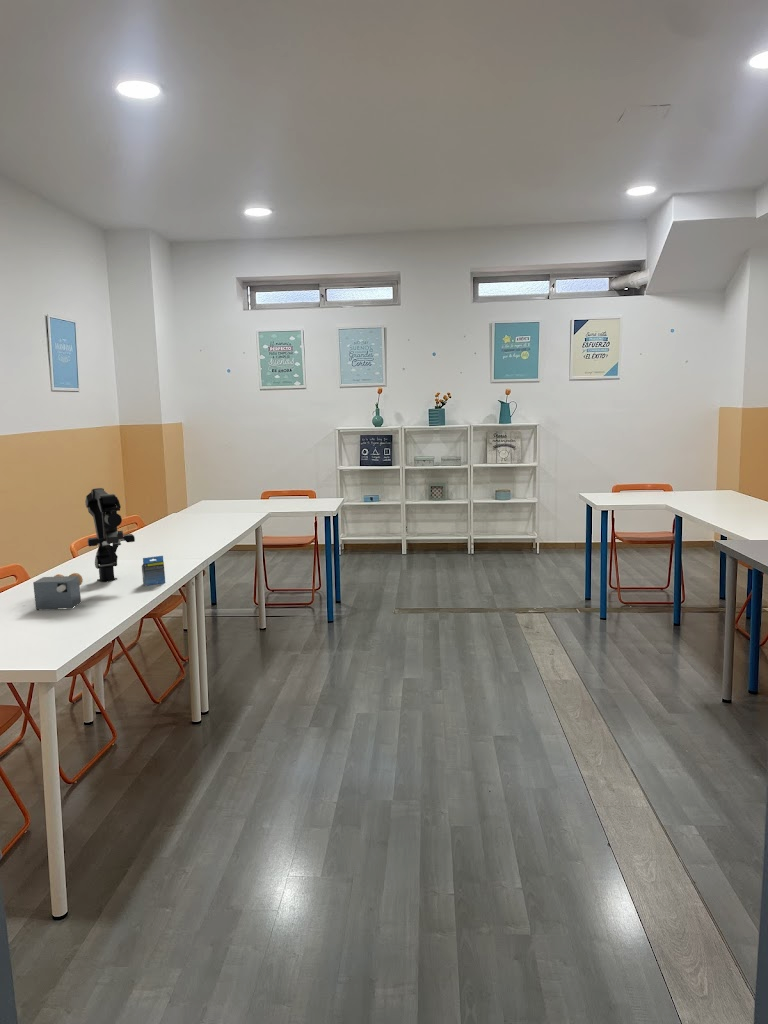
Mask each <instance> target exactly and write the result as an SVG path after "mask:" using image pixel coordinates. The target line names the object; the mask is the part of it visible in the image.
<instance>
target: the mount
mask: <svg viewBox="0 0 768 1024" xmlns="http://www.w3.org/2000/svg"><path fill="white" fill-rule="evenodd" d="M64 583H67V589H66V590H64V591H63V592H61V593H59V592H57V587H59V586H60V585H62V584H64ZM80 586H81V585H79V576H69V575H66V576H65V575H63V574H56V575H54V576H42V577H41V578H39V579H36V580H35V581H33V593H34V603H35V604H34V605H35V610H36V609H55V610H59V609H58V608H73V607H74V606H76V605H77V604H79V603H80V602H81V603H82V599H81V598H82V597H81V588H80ZM81 603H80V604H81ZM80 604H79V605H80ZM77 606H78V605H77ZM77 606H76V607H77ZM74 608H75V607H74ZM74 608H73V609H74Z"/></svg>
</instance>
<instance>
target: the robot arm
mask: <svg viewBox="0 0 768 1024" xmlns="http://www.w3.org/2000/svg"><path fill="white" fill-rule="evenodd" d="M120 503H121V502H120V500H119V498H118V496H116V494H114V493H109V492H108V493H107V492H106V490H105V489H104V488H102V487H97V488H92V489H91V491H90V492H89V493H88V494H87V495H86V496H85V507H86V509H87V511H88V513H89V515H91V516H92V517H93V523H94V528H95V534H96V537H88V538H87V546H88V547H95V546H98V549H97V551H96V555H95V558H94V566H95V568H96V569H98V573H99V574H98V575H99V577H98V578H97V579H96V581H97V582H102V583H103V582H104V583H106V582H107V581H108V582H111V580H112V581H114V580H115V579H116V580H118V577H115V570H114V567H117V566H118V555H117V551H118V547H119V546H121V545H122V543H121V542H124V541H125V542H126V543H133V542H136V537H135V535H134V534H133V533H126V534H124V532H123V530H118V527H119V526H120V525H121V524H122V522H123V521H122V520H123V519H122V517H121V515H120V514H119V513H118V512H117V511H119V512H120V511H121V504H120ZM111 544H112V545H111Z"/></svg>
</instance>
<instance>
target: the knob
mask: <svg viewBox="0 0 768 1024" xmlns="http://www.w3.org/2000/svg"><path fill="white" fill-rule="evenodd" d="M68 576H79V585H80V586H81V585H82V584H83V582H84V581H83V580H84V579H83V576H82V575H81V574H80V573H77V572H73V573H71V574H69V575H68ZM66 589H67V583H64V584H62V585H60V586H59V587H57V592H59V593H61V592H63V591H64V590H66Z"/></svg>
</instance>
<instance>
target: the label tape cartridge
mask: <svg viewBox="0 0 768 1024" xmlns="http://www.w3.org/2000/svg"><path fill="white" fill-rule="evenodd" d="M165 572H166V571H165V563H164V555H159V556H150V557H149V556H148V557H142V565H141V574H142V575H141V577H142V584H143V586H145V585H147V586H151V584H153V585H158V584H165V583H166V573H165Z"/></svg>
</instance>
